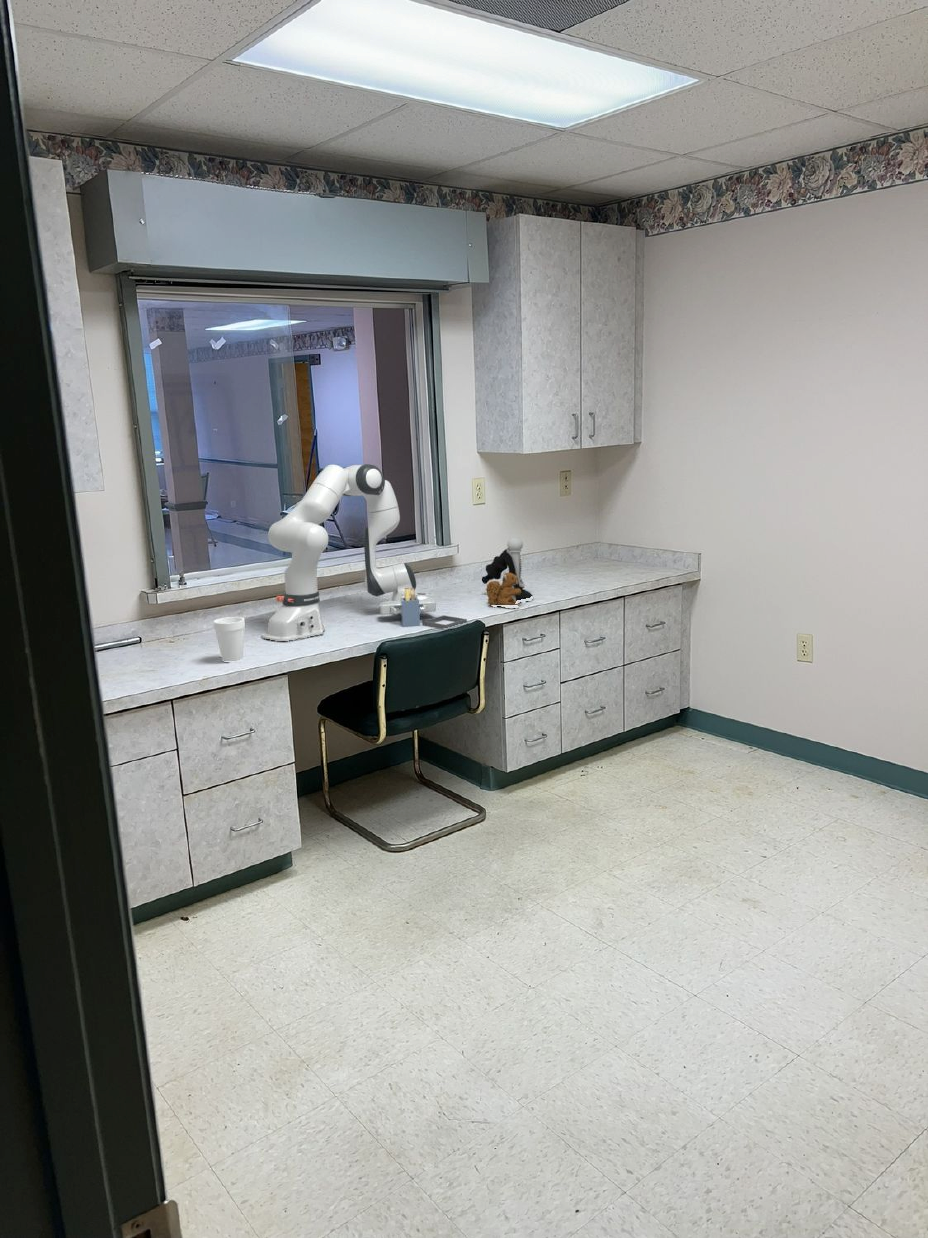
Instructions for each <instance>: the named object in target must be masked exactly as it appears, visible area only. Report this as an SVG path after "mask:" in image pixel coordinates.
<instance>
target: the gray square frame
mask: <svg viewBox="0 0 928 1238" xmlns="http://www.w3.org/2000/svg"><path fill="white" fill-rule="evenodd" d="M441 621H442V622H443V621H448V622H450V623H447V624H443V623H439V622H441ZM466 622H467V623H468V619H466V618H462V617H456V616H449V615H439V616H436V617H433V618H429V619H425V620H422V624H421V625H422V626H423V627H428V628H433V629H434V628H435V629H441V630H444V629H443V628H448V627H452V626H455V625H458V624H463V623H466Z"/></svg>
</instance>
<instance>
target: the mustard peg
mask: <svg viewBox="0 0 928 1238" xmlns="http://www.w3.org/2000/svg"><path fill="white" fill-rule="evenodd" d="M405 601H410V596H409V589H405Z"/></svg>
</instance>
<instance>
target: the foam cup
mask: <svg viewBox="0 0 928 1238" xmlns="http://www.w3.org/2000/svg"><path fill="white" fill-rule="evenodd" d="M245 623H246V621H245V618H244V617H241V616H228V617H227V616H226V617H220V618H217V619H215V620H213V629H214V630H215V635H216V638H217V643H218V649H219V652H220V655H221V657H220V658H221V660H222V661H223V660H224V661H237V660H240V659H242V658H243V659H244V647H245V645H244V643H245V628H246V624H245Z"/></svg>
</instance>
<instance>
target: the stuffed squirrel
mask: <svg viewBox="0 0 928 1238" xmlns="http://www.w3.org/2000/svg"><path fill="white" fill-rule="evenodd" d="M517 582H518V577H517V576H516V575H514V574H513V573H509V572H505V573H504V574H503V575H502V582H501V583H500V581H497V580H493V581H492V580H490V581H488V583H487V584H486V588H485V590H486V593H487V594H486V597H487V603H488V604H489V606H491V605H519V604H515V603H516V601H517V600H516V597H515V595H520V594H521V590H520V589H517V588H514V586H513V585H515V584H517V585H518V583H517Z"/></svg>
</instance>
